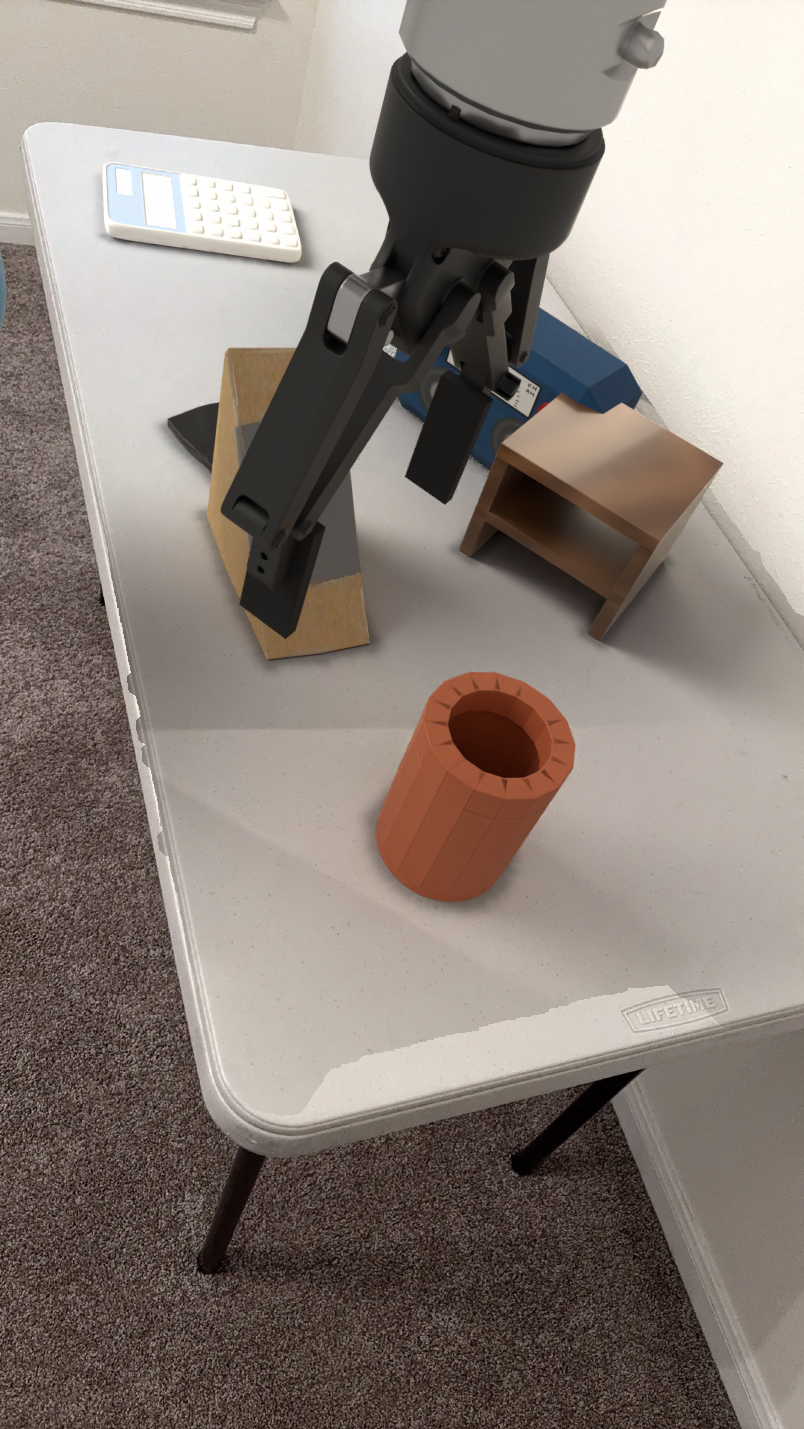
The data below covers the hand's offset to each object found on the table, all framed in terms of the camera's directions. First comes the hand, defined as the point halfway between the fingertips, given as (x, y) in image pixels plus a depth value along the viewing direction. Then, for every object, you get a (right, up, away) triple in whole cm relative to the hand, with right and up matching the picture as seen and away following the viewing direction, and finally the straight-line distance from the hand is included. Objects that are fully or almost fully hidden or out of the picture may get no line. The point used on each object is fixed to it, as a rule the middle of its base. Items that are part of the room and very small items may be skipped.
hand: (354, 547), depth 48 cm
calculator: (-19, +44, +56) cm, 74 cm away
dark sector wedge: (-11, +15, +36) cm, 40 cm away
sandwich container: (-7, +2, +27) cm, 28 cm away
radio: (+10, +17, +44) cm, 49 cm away
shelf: (+16, +6, +37) cm, 41 cm away
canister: (+5, -16, +16) cm, 23 cm away
